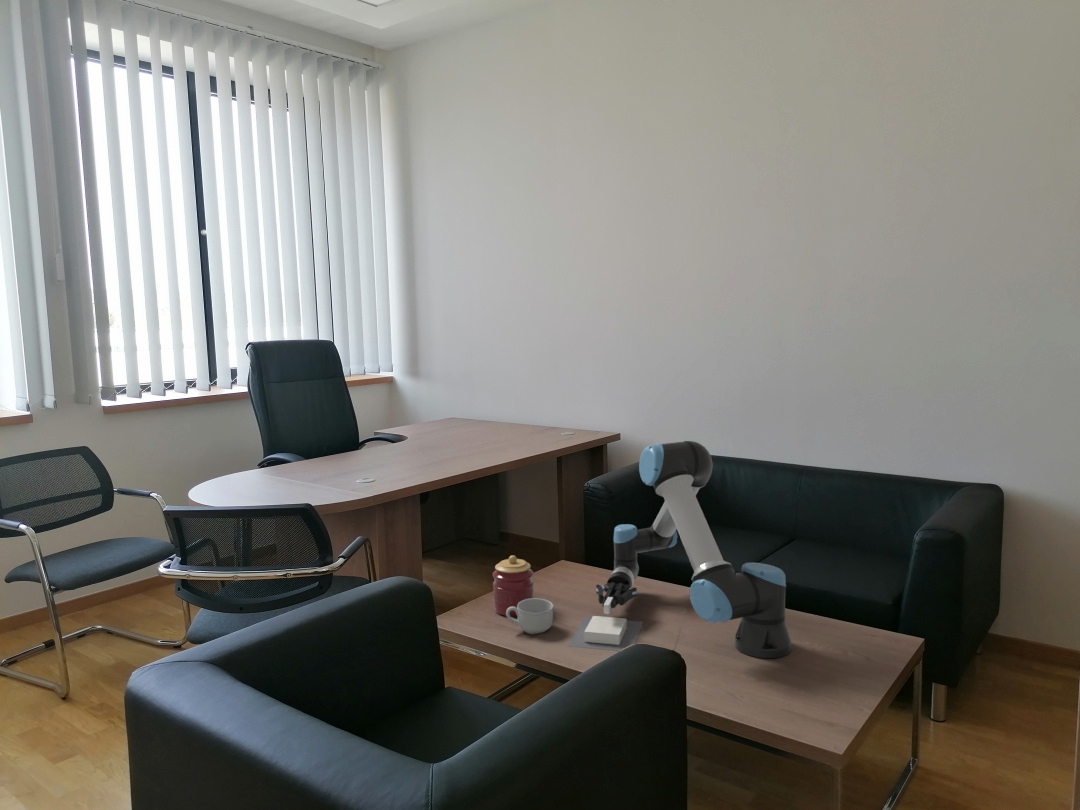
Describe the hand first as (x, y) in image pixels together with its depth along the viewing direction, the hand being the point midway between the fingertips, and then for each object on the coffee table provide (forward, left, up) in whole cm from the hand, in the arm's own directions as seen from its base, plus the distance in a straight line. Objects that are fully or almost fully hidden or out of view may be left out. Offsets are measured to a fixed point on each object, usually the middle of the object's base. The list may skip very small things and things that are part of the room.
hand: (606, 609), depth 228 cm
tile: (+2, -4, -6) cm, 8 cm away
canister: (+35, +4, -8) cm, 37 cm away
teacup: (+19, +12, -8) cm, 24 cm away
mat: (0, -1, -8) cm, 8 cm away
